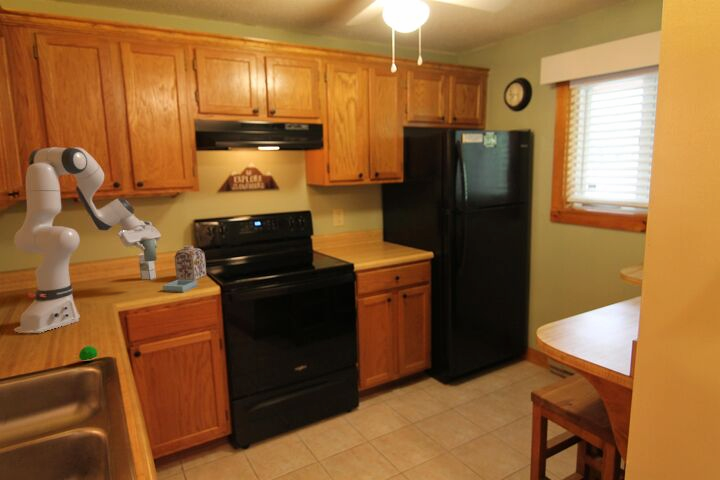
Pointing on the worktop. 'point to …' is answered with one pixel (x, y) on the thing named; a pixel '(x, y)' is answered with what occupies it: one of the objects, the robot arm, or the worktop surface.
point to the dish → (180, 285)
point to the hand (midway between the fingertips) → (150, 248)
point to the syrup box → (146, 268)
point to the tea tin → (149, 248)
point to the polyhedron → (88, 353)
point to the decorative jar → (190, 263)
